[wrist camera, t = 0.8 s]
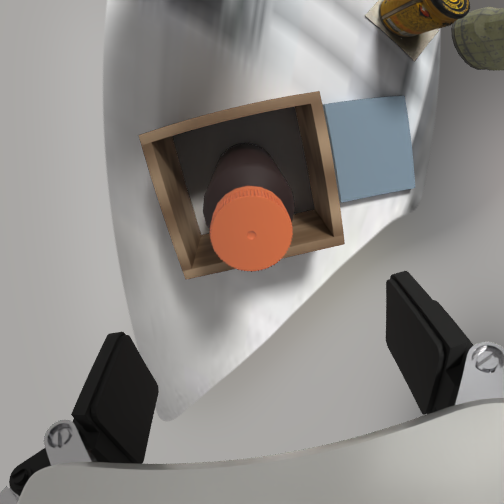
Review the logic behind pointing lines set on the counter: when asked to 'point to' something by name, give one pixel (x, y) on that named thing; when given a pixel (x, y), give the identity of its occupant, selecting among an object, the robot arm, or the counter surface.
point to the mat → (370, 146)
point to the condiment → (415, 20)
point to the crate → (304, 223)
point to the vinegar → (249, 209)
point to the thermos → (481, 38)
